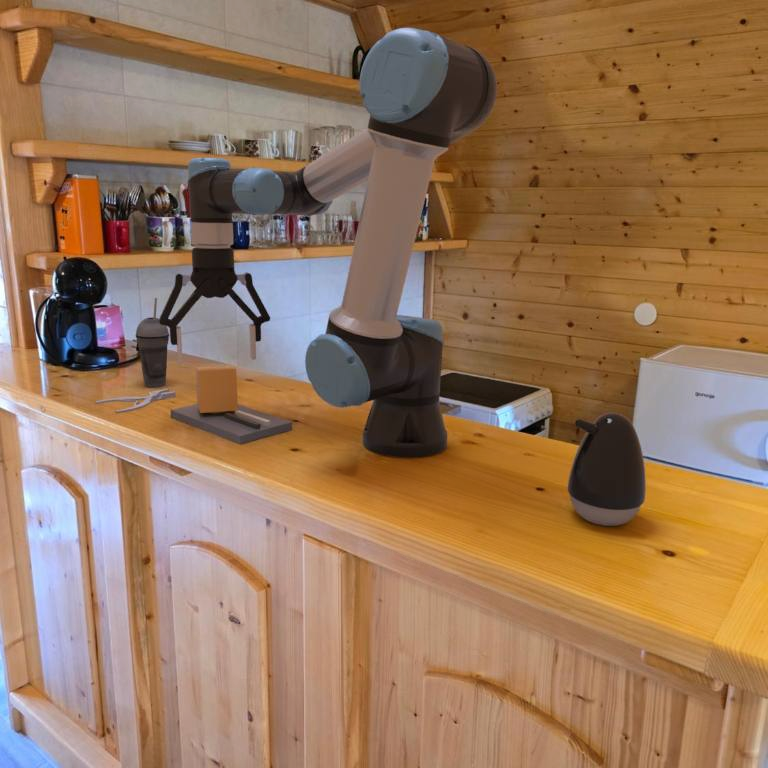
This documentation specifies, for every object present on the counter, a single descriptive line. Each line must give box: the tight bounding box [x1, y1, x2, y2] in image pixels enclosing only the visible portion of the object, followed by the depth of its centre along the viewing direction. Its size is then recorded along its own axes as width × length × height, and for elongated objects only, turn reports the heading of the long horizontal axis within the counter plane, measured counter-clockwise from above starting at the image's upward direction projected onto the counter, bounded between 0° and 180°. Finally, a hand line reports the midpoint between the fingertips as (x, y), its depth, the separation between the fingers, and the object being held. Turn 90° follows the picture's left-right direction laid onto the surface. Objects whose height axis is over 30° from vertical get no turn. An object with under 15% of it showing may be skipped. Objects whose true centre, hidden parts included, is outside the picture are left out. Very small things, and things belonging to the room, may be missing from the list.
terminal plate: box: [170, 403, 293, 445], centre depth 132 cm, size 22×12×6 cm, turn 49°
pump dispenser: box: [567, 412, 647, 527], centre depth 94 cm, size 10×10×15 cm
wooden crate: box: [195, 365, 239, 413], centre depth 134 cm, size 7×7×8 cm
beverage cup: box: [135, 297, 170, 388], centre depth 156 cm, size 7×7×20 cm
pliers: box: [94, 388, 177, 414], centre depth 145 cm, size 10×2×15 cm
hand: (217, 360), depth 132 cm, fingers open, 13 cm apart
